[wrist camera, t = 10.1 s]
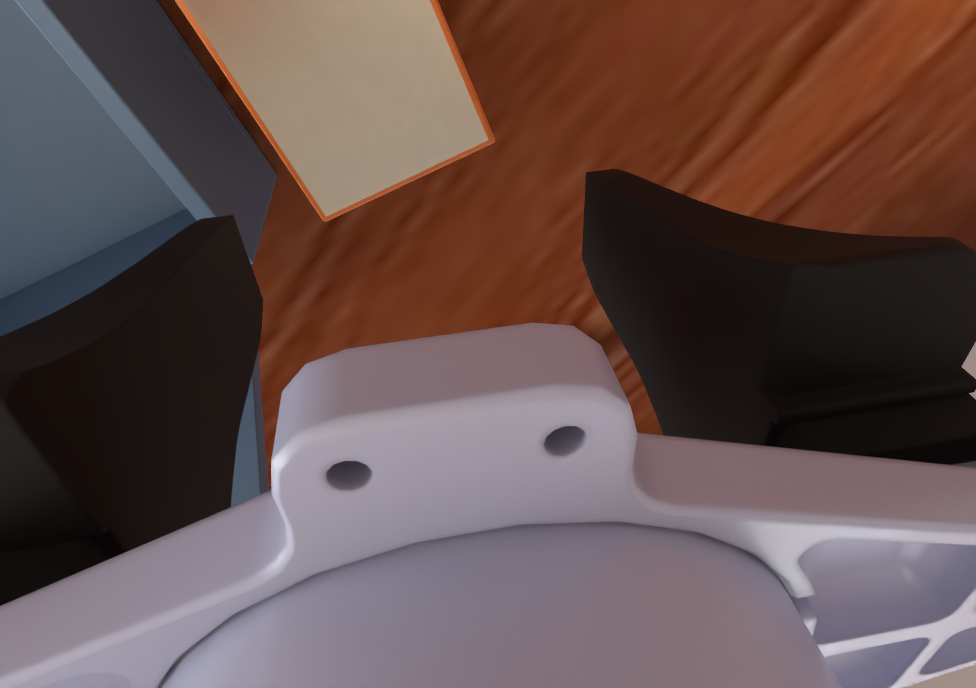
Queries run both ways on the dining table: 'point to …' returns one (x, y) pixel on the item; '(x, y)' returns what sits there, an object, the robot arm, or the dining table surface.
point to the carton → (108, 149)
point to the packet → (347, 89)
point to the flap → (250, 447)
